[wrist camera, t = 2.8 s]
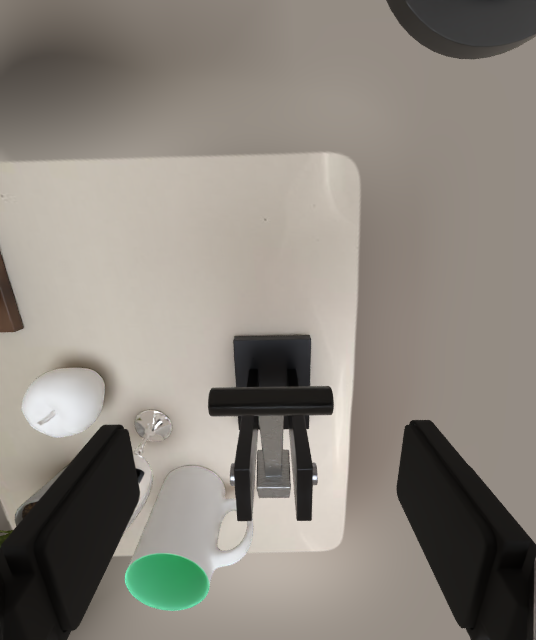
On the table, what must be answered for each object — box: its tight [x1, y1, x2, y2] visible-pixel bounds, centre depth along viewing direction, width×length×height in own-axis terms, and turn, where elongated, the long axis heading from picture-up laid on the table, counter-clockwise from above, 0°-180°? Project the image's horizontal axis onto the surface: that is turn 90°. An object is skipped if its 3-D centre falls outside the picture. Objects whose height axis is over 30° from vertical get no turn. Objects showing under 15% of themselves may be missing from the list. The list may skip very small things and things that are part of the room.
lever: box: [208, 386, 334, 498], centre depth 17 cm, size 13×5×2 cm, turn 2°
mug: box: [125, 465, 253, 611], centre depth 33 cm, size 12×8×10 cm, turn 99°
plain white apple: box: [22, 367, 105, 438], centre depth 30 cm, size 7×7×8 cm
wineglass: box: [123, 410, 172, 534], centre depth 30 cm, size 6×6×12 cm
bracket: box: [230, 335, 318, 521], centre depth 26 cm, size 11×8×15 cm
